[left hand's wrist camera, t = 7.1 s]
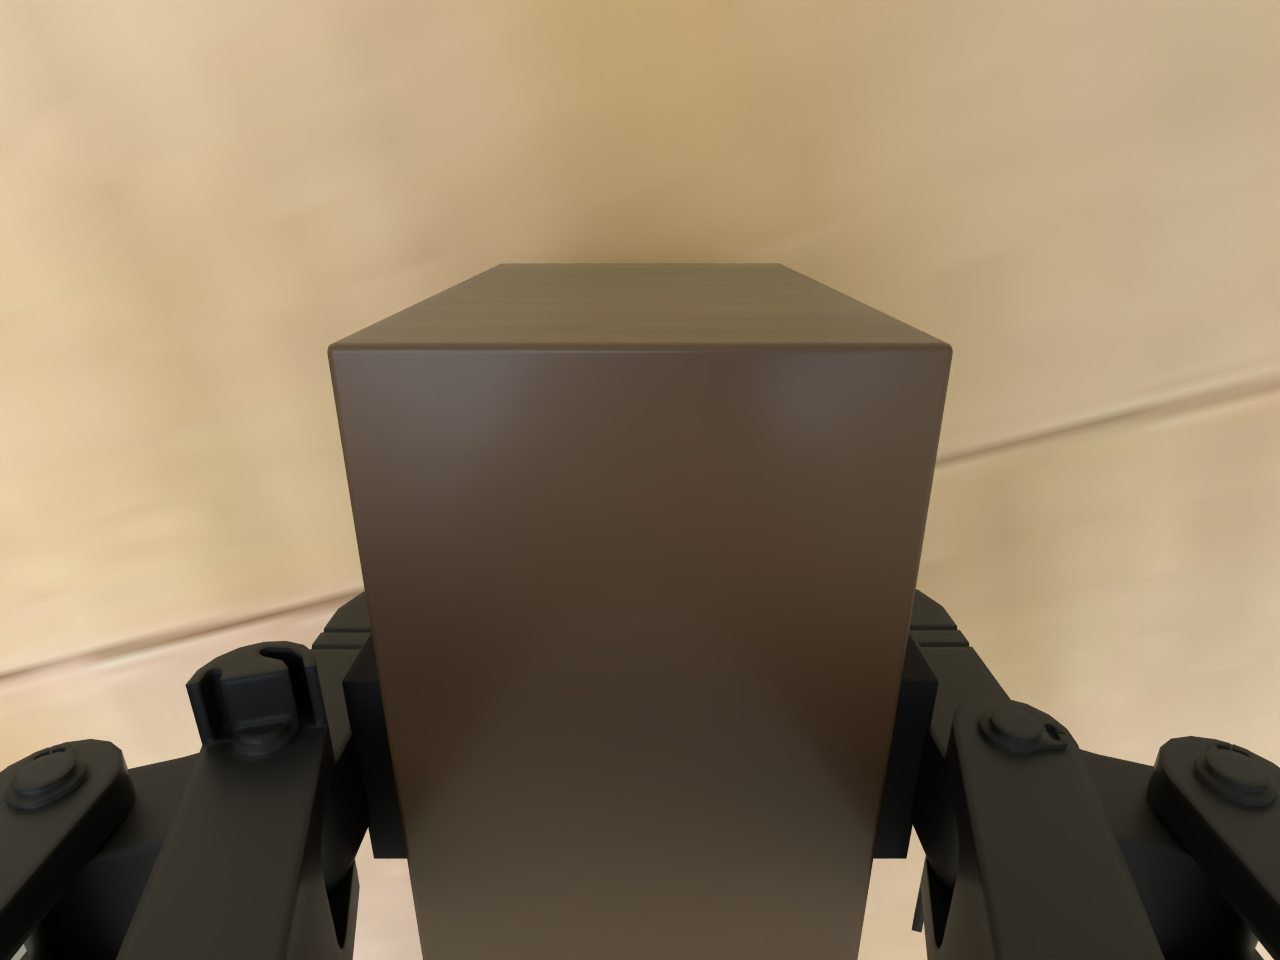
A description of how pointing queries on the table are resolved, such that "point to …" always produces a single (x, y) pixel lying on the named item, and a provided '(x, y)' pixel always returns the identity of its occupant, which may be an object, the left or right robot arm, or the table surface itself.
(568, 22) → the table surface
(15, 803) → the left robot arm
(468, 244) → the table surface
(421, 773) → the beam
